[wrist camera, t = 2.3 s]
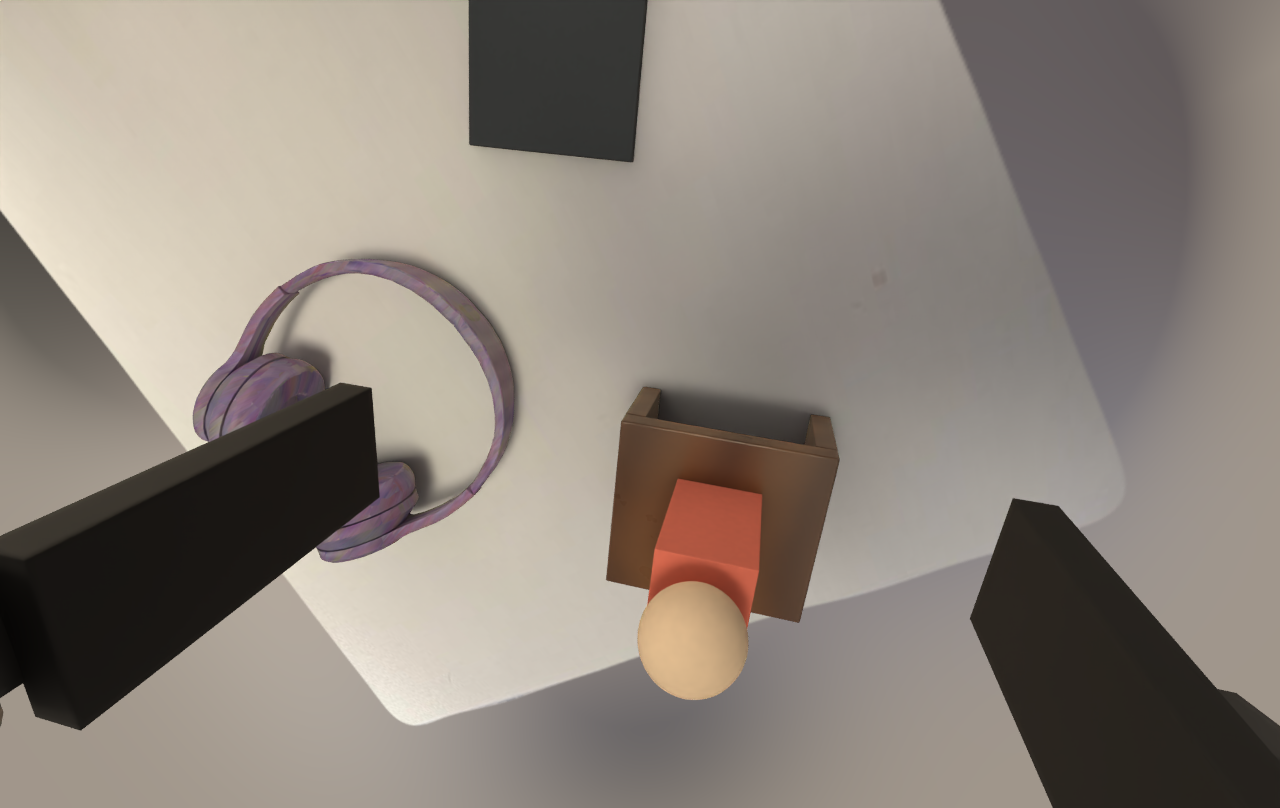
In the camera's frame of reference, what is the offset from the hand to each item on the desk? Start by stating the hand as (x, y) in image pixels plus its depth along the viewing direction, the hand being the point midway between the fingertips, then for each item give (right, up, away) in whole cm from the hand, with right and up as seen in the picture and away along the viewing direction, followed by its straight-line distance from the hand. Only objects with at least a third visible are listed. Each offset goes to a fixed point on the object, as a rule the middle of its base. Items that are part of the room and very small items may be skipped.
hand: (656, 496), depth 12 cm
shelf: (+5, -3, +28) cm, 29 cm away
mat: (-5, +21, +21) cm, 31 cm away
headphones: (-18, +3, +31) cm, 36 cm away
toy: (+4, -5, +22) cm, 23 cm away
